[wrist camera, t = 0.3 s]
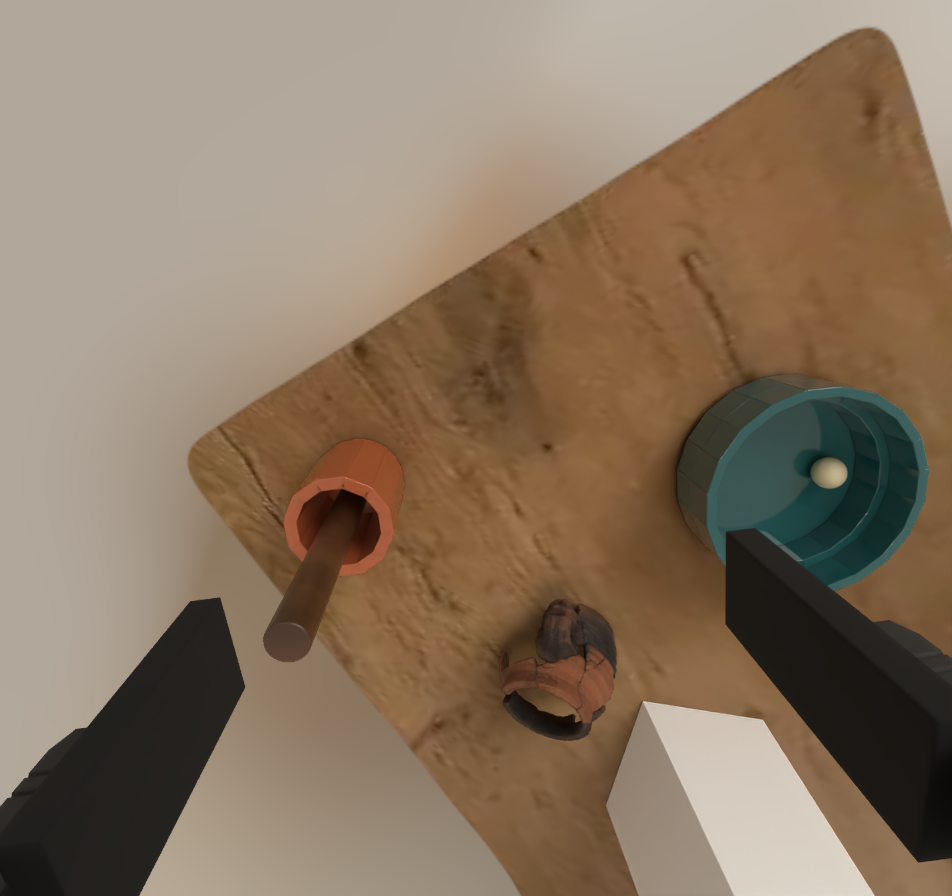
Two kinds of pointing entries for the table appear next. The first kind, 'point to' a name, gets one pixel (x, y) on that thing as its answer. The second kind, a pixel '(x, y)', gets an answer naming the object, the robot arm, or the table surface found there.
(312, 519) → the crock
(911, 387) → the table surface
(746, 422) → the bowl
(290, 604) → the stirring stick
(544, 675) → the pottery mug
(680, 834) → the milk
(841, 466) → the bead
